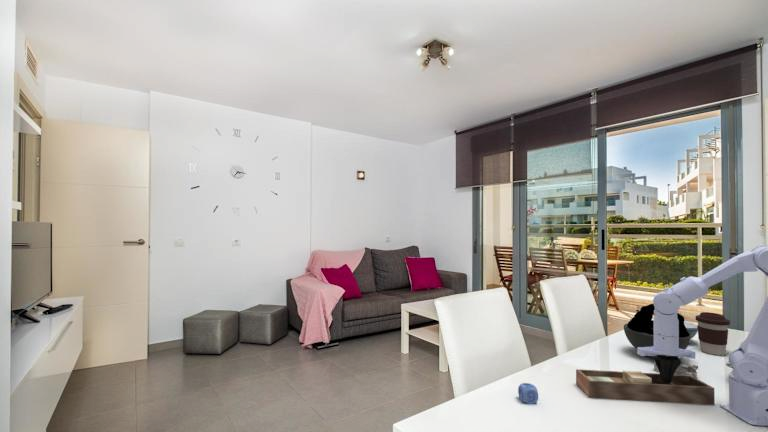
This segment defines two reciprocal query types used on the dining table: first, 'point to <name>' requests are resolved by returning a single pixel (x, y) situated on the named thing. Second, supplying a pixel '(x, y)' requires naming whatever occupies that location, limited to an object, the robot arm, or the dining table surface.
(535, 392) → the decorative dice
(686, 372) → the egg carton
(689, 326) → the chinaware
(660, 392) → the brown wooden long box
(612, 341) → the dining table surface
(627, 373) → the beech block
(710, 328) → the coffee cup
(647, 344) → the bowl of black rocks
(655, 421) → the dining table surface
